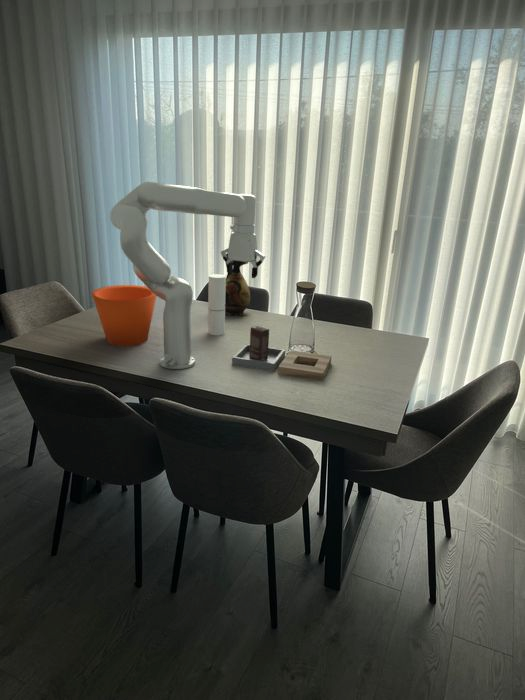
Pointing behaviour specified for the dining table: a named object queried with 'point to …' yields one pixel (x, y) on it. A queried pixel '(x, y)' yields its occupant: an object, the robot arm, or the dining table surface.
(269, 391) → the dining table surface
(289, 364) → the socket board
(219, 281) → the cylindrical container
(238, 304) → the ceramic jug
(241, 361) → the tray
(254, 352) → the box
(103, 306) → the flowerpot
